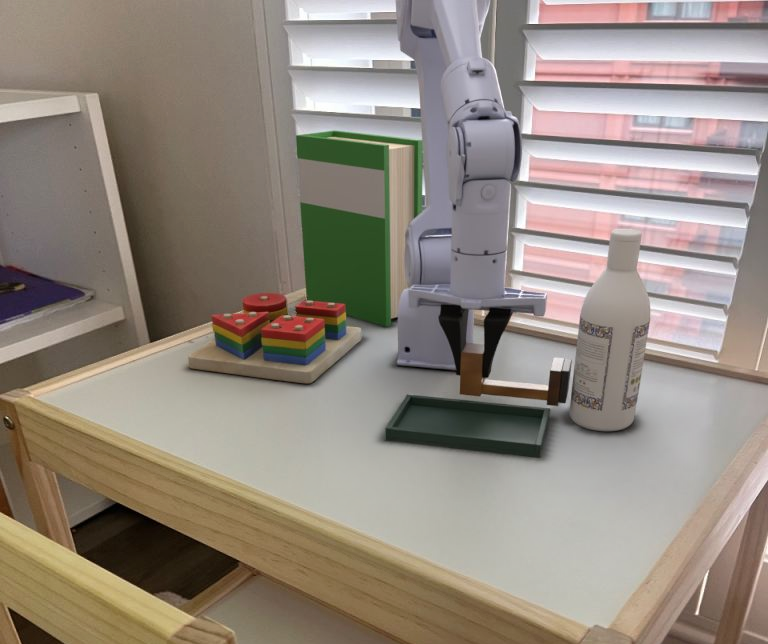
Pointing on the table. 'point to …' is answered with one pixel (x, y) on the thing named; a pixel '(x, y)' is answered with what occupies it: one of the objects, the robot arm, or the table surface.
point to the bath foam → (612, 340)
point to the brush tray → (470, 425)
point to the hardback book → (358, 218)
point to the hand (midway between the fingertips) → (473, 373)
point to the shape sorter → (277, 340)
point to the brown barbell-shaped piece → (477, 385)
